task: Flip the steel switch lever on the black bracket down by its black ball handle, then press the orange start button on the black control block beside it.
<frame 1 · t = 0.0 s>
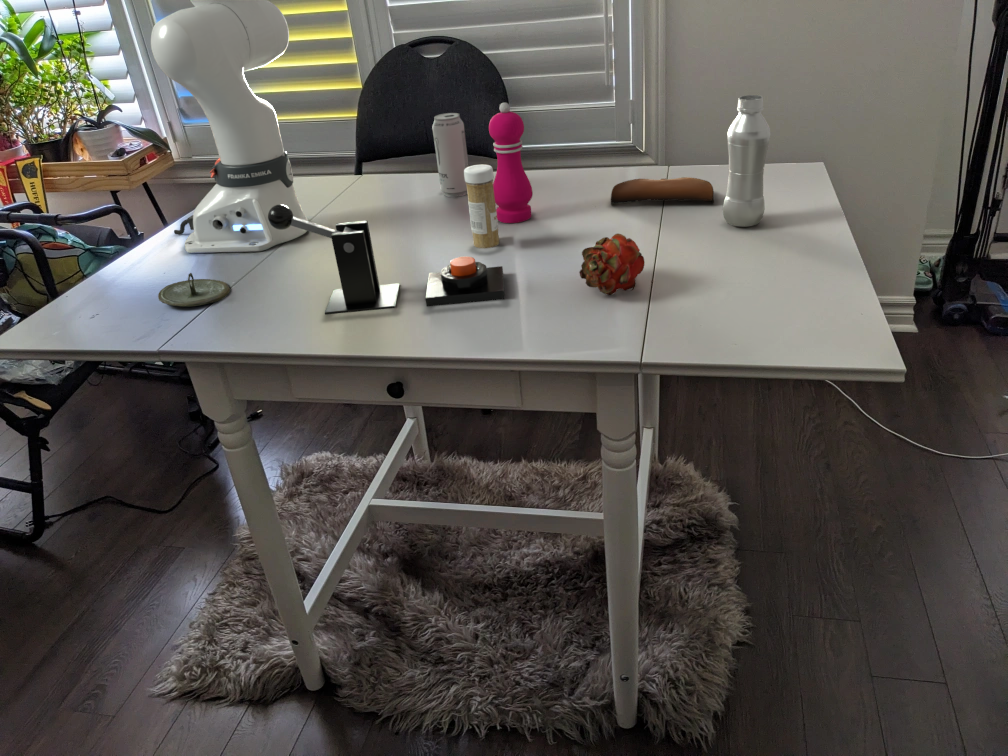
lid: (197, 302, 124), on the table
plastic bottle: (742, 225, 131), on the table
sunglasses case: (662, 200, 145), on the table
start button: (463, 266, 114), point 4 cm above the table, slide at 0.1 cm
button block: (466, 295, 117), on the table
pepper mill: (514, 218, 144), on the table
energy drink can: (456, 193, 160), on the table
switch lever: (315, 228, 111), point 12 cm above the table, hinge at 25.0°
switch bracket: (364, 304, 117), on the table
sprinkles bottle: (487, 249, 132), on the table
dragon fruit: (613, 288, 114), on the table
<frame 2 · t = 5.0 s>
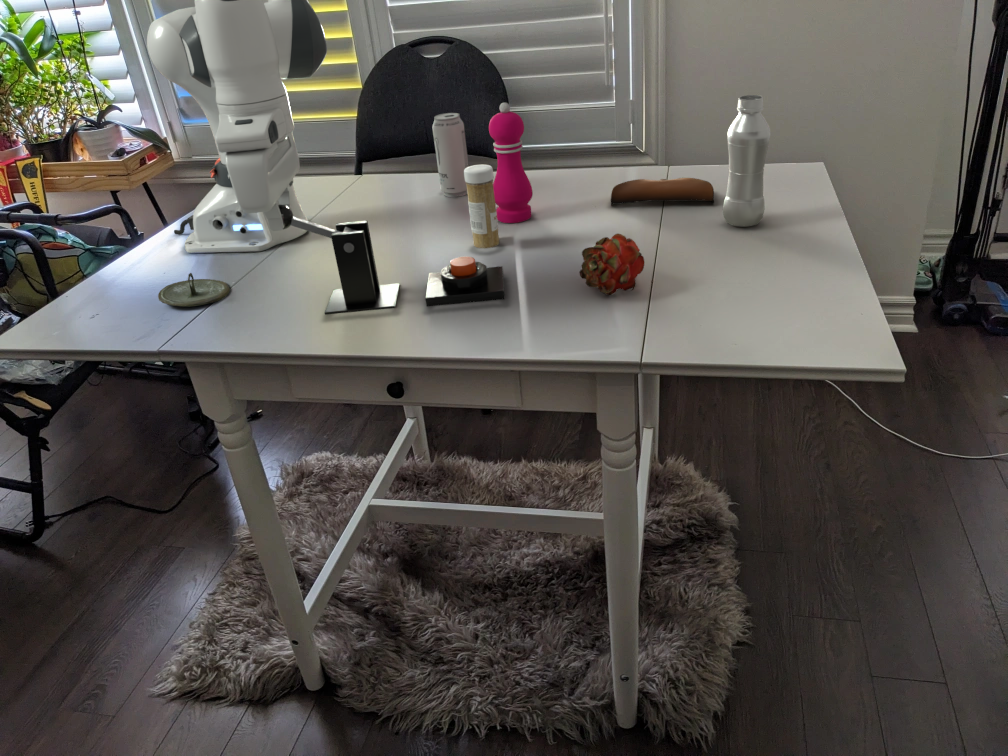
hand: (282, 223, 110), 13 cm above the table, tool pointing down, fingers closed on switch lever, 3 cm apart
switch lever: (315, 228, 111), point 12 cm above the table, hinge at 25.1°, touching gripper
everything else where it was.
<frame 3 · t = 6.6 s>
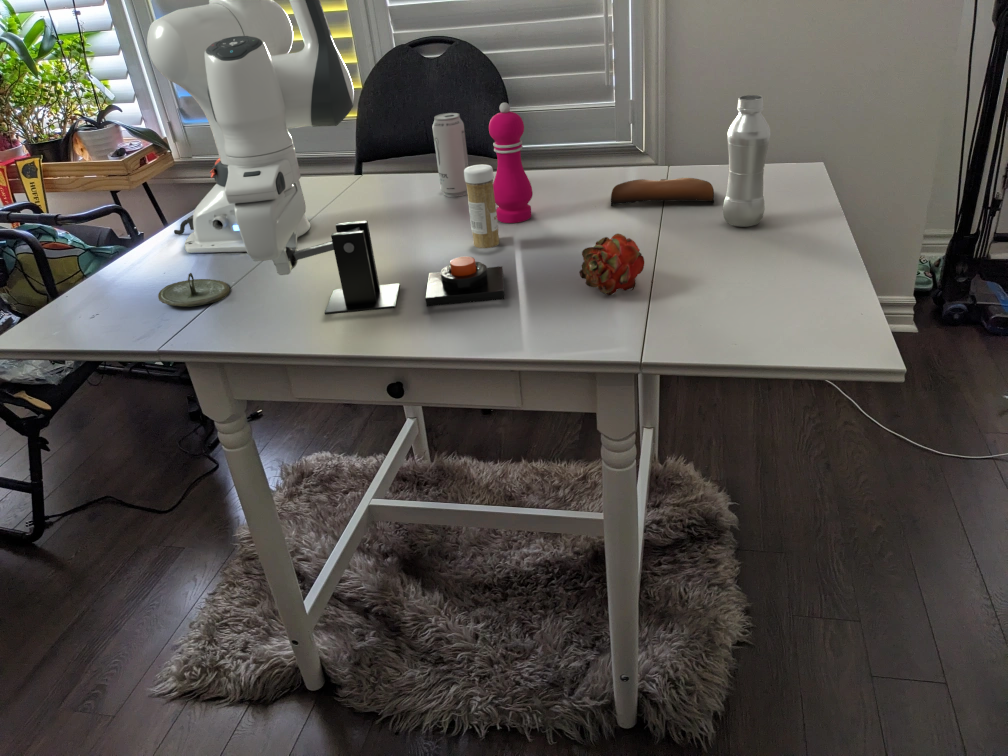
hand: (289, 266, 114), 7 cm above the table, tool pointing down, fingers closed on switch lever, 3 cm apart
switch lever: (317, 249, 113), point 9 cm above the table, hinge at -10.4°, touching gripper
everything else where it was.
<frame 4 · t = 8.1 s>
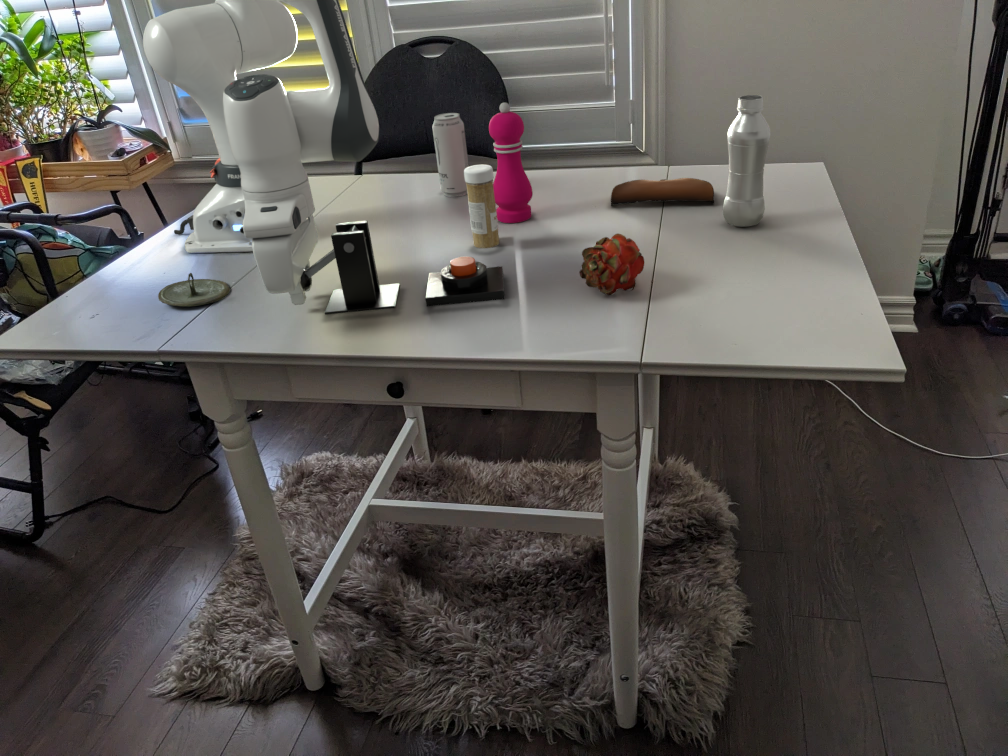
hand: (302, 296, 116), 2 cm above the table, tool pointing down, fingers closed on switch lever, 3 cm apart
switch lever: (324, 261, 113), point 7 cm above the table, hinge at -31.6°, touching gripper
everything else where it was.
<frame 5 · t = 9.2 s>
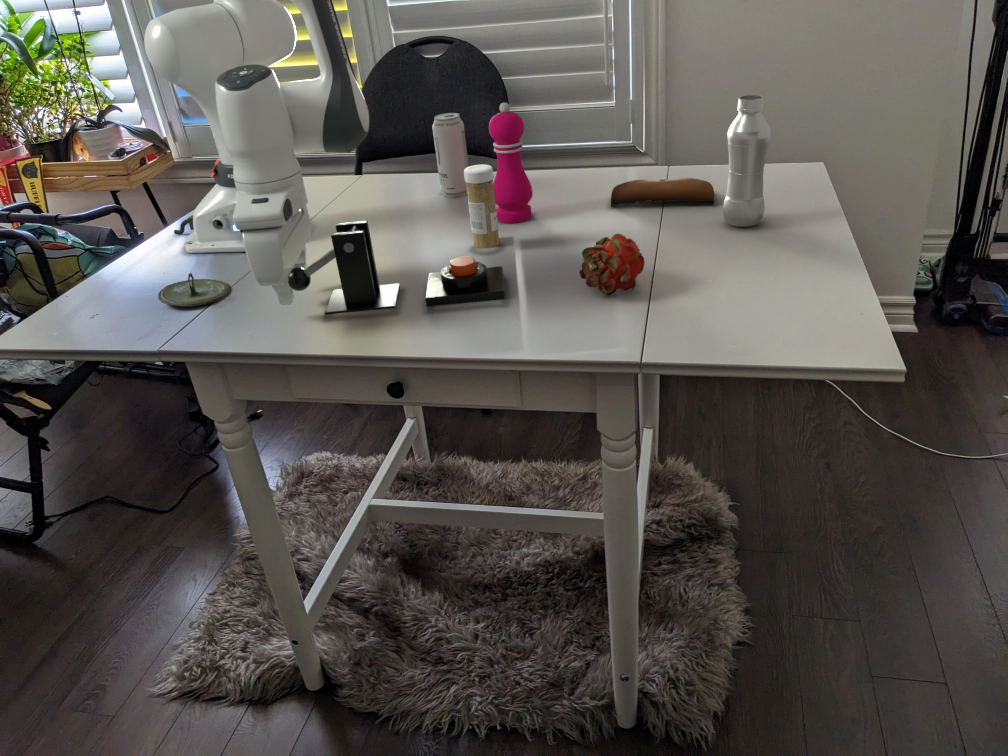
hand: (294, 288, 116), 4 cm above the table, tool pointing down, fingers open, 8 cm apart
switch lever: (324, 260, 113), point 7 cm above the table, hinge at -30.2°
everything else where it was.
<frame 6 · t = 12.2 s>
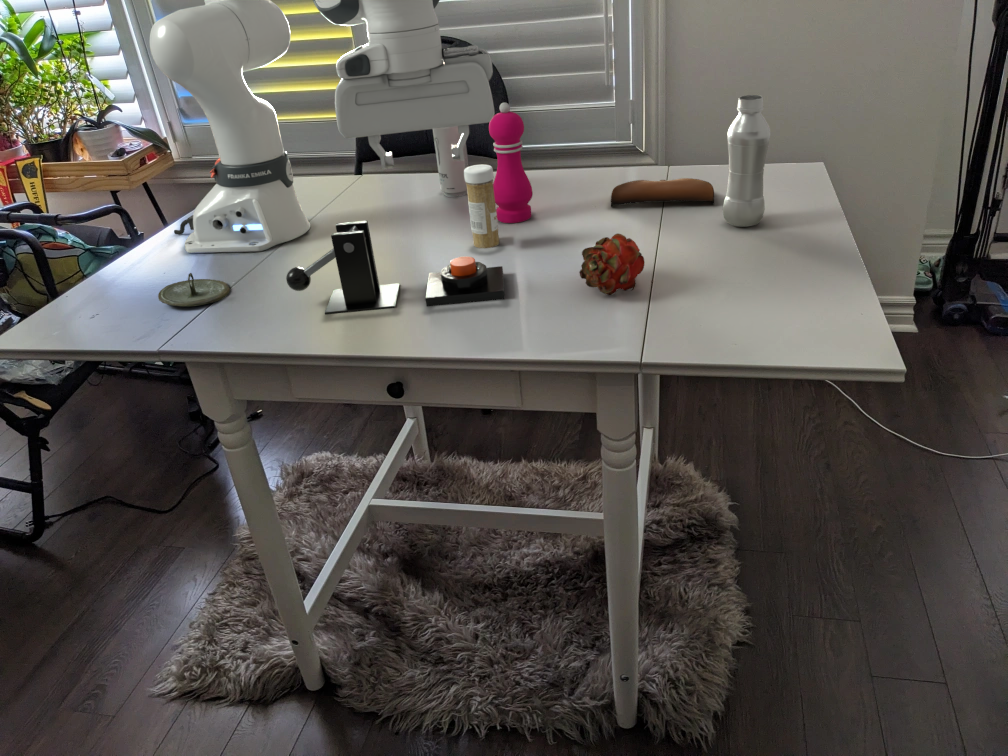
hand: (423, 163, 106), 20 cm above the table, tool pointing down, fingers open, 8 cm apart
nothing on the table moved.
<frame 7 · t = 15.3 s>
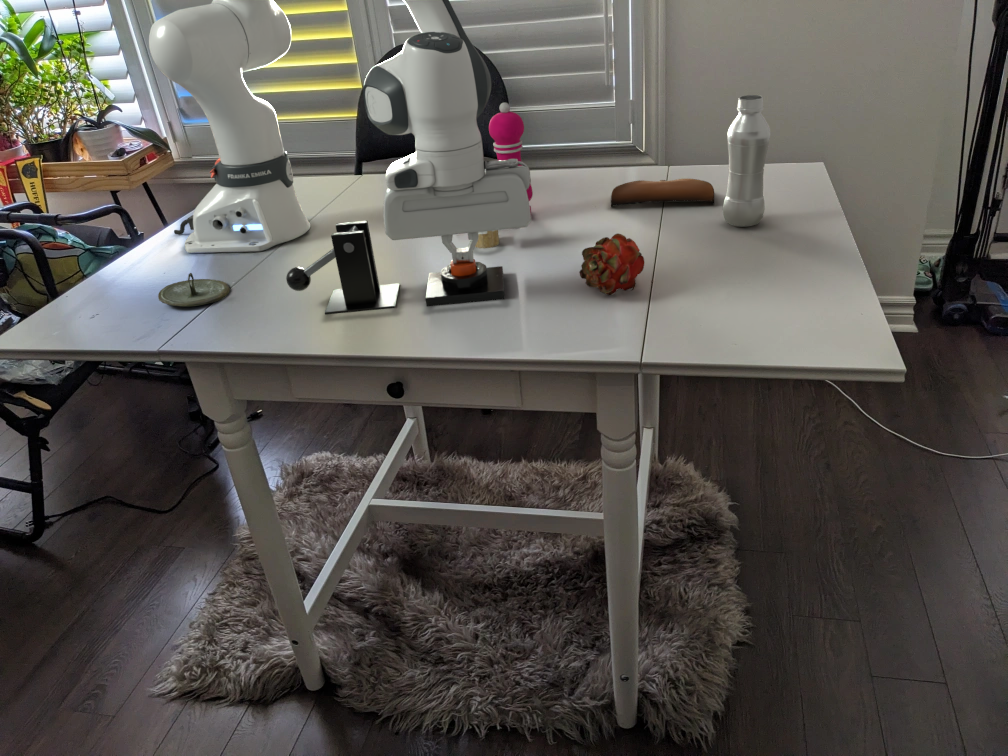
hand: (463, 261, 114), 5 cm above the table, tool pointing down, fingers closed, pressing on start button
start button: (463, 267, 114), point 4 cm above the table, slide at 0.0 cm, touching gripper
everything else where it was.
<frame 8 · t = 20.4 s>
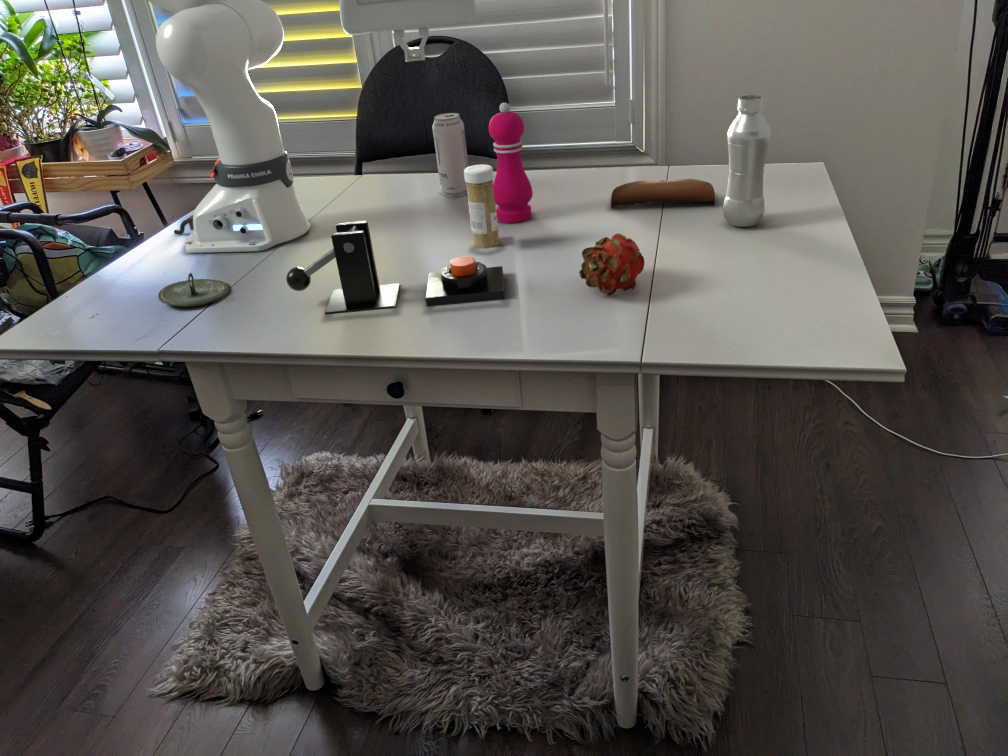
hand: (415, 60, 123), 29 cm above the table, tool pointing down, fingers closed
start button: (463, 266, 114), point 4 cm above the table, slide at 0.1 cm
at the end: switch lever at -30° (first picture: +25°); start button pushed in 1.0 cm at the most during the clip, back to where it started at the end; start button slide at 0.1 cm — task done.
